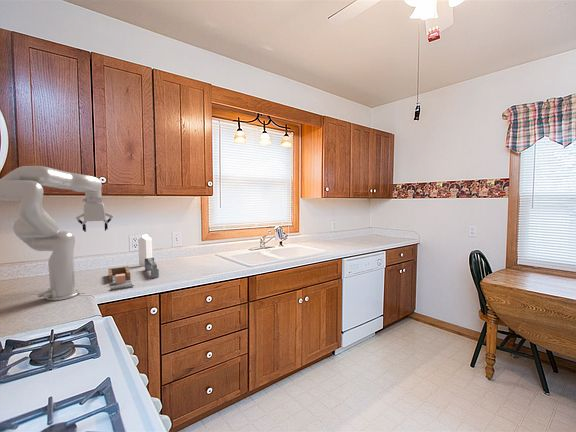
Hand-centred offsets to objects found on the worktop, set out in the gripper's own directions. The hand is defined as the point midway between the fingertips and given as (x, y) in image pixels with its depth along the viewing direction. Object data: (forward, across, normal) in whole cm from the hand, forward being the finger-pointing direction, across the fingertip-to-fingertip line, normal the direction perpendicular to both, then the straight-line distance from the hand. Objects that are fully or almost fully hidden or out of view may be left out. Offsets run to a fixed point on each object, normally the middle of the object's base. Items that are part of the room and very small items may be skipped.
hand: (95, 231), depth 162 cm
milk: (+28, +27, +19) cm, 44 cm away
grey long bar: (+28, +27, -7) cm, 40 cm away
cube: (+27, +10, -18) cm, 34 cm away
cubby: (+28, +10, -11) cm, 32 cm away
